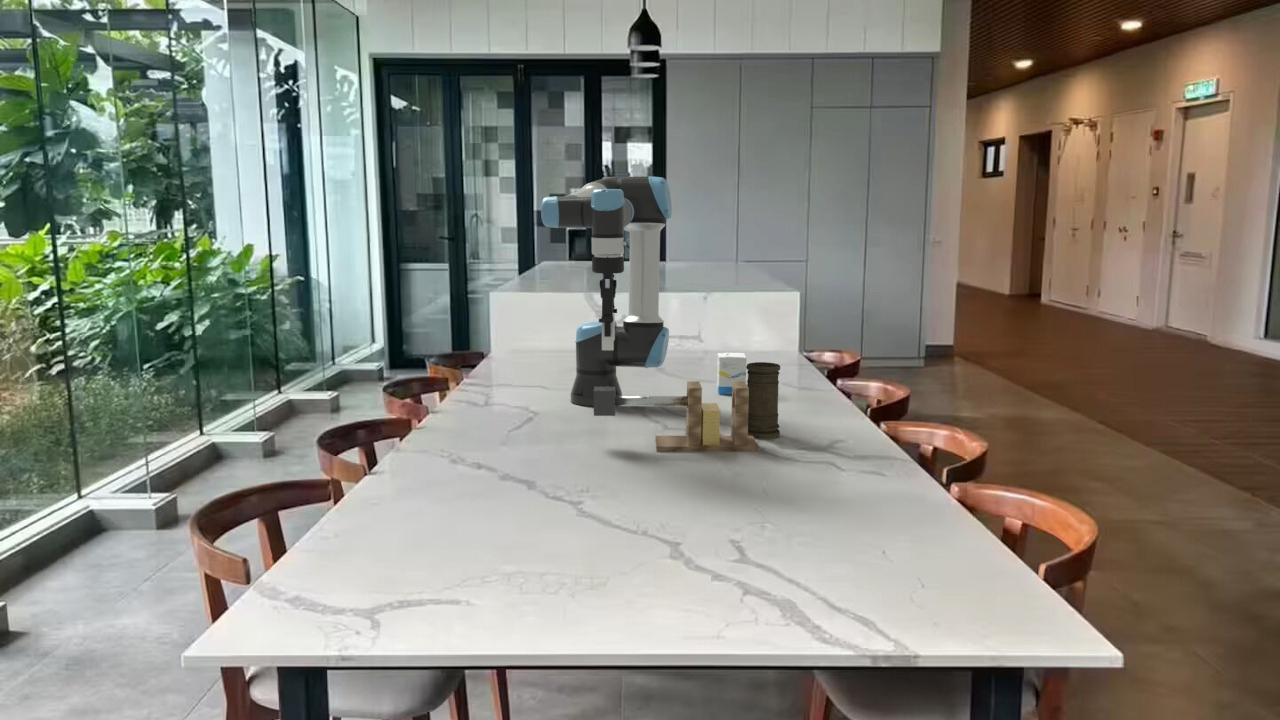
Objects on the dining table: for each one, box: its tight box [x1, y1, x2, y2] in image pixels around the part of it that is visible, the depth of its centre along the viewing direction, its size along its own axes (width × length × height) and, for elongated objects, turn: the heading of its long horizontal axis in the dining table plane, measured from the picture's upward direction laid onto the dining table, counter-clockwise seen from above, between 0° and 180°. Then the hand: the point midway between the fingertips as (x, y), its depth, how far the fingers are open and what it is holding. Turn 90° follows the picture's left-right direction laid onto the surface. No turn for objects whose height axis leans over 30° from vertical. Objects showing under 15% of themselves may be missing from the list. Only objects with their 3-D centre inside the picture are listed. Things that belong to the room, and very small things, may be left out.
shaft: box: [593, 387, 688, 417], centre depth 220 cm, size 24×5×6 cm, turn 91°
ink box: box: [716, 352, 747, 396], centre depth 283 cm, size 9×8×12 cm
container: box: [746, 361, 781, 440], centre depth 231 cm, size 9×9×18 cm
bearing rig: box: [654, 380, 760, 452], centre depth 221 cm, size 24×10×15 cm, turn 91°
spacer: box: [701, 402, 721, 446], centre depth 221 cm, size 4×8×8 cm, turn 1°
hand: (608, 345), depth 220 cm, fingers open, 13 cm apart
